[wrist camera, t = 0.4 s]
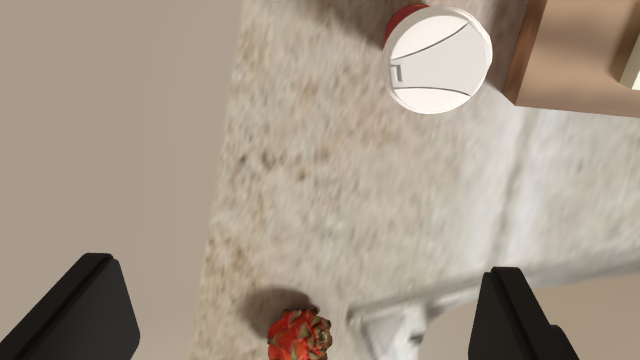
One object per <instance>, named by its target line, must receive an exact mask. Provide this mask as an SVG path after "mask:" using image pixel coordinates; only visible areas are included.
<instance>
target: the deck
mask: <svg viewBox="0 0 640 360" xmlns="http://www.w3.org/2000/svg"><path fill="white" fill-rule="evenodd" d="M639 34H640V0H529V3H528V6H527V10H526V13H525V17H524V20H523V24H522V27H521V31H520V34H519V38H518V41H517V44H516V48H515V51H514V55H513V58H512V62H511V65H510V69H509V72H508V76H507V79H506V83H505V86H504V90H503V93H502V94H503V95H504V96H505V97H506V98H507V99H508V100H509V101H511V102H512V103H513V104H514V105H515V106H523V107H533V108H543V109H554V110H564V111H574V112H584V113H595V114H605V115H615V116H625V117H636V118H640V90H634V89H630V88H628V87H626V86H624V85H621V84H619V82H620V79H621V77H622V75H623V72H624V70H625V67H626V65H627V63H628V60H629V58H630V55H631V53H632V51H633V48H634V46H635V44H636V41H637V39H638V36H639Z"/></svg>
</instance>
